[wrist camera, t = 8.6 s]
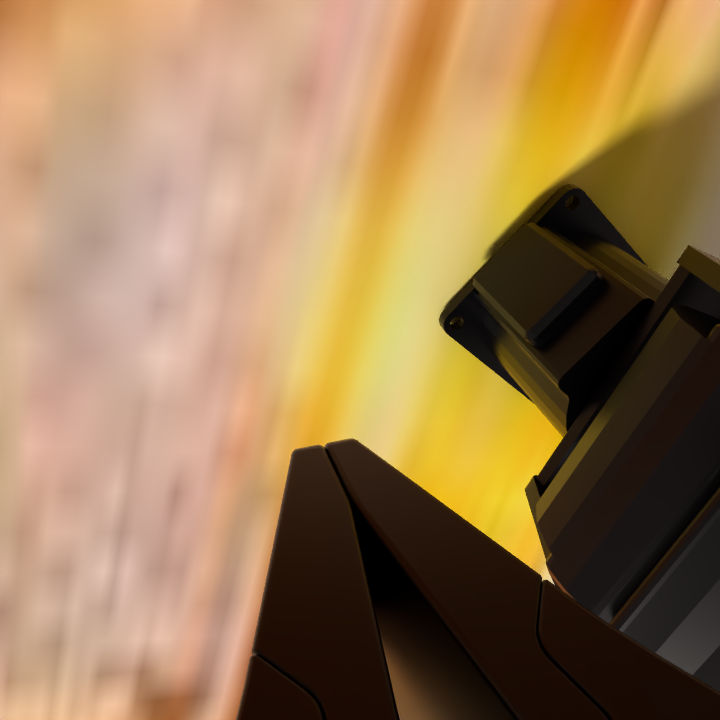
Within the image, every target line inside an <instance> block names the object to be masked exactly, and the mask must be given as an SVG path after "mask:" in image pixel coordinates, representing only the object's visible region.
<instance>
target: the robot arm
mask: <svg viewBox="0 0 720 720" xmlns="http://www.w3.org/2000/svg"><path fill="white" fill-rule="evenodd" d="M571 196H573V201H572V202H571V204H569V205H568V206H566V201H567V200H568V198H569V197H571ZM677 263H678V264H680V265H679V267H678V268H677V270H676V271H675V273H674V274H673V276H672V277H671V279H670V280H667V279H666V278H664V277H663V276H661V275H660V274H658V273H657V272H655V271H654V270H652V269H651V268H649V267H648V266H647V265H646V264H645V263H644V262H643V260H642V259H641V258H640V257H639V256H638V254H637V253H636V252H635V251H634V250H633V249H632V247H631V246H630V245H629V244H628V243H627V242H626V240H625V239H624V238H623V237H622V236H621V234H620V233H619V232H618V231H617V230H616V229H615V227H614V226H613V225H612V224H611V223H610V222H609V220H608V219H607V218H606V217H605V216H604V214H603V213H602V212H601V211H600V210H599V209H598V207H597V206H596V205H595V204H594V203H593V202H592V200H591V199H590V198H589V197H588V196H587V194H586V193H585V192H584V191H583V190H581V189H580V188H578V187H576V186H575V185H570V184H568V185H565V186H563V187H561V188H560V189H559V190H558V191H557V192H556V193H555V194H554V195H553V196H552V197H551V198H550V199H549V200H548V201H547V202H546V203H545V204H544V205H543V206H542V208H541V209H540V210H539V211H538V212H537V213H536V214H535V215H534V216H533V217H532V218H531V219H530V220H529V221H528V222H527V223H526V224H524V225H523V226H522V227H521V228H520V229H519V230H518V231H517V232H516V233H515V234H514V235H513V236H512V237H511V239H510V240H509V241H508V242H507V243H506V244H505V245H504V246H503V247H502V248H501V249H500V250H499V251H498V252H497V253H496V254H495V255H494V256H493V257H492V259H491V260H490V261H489V262H488V263H487V264H486V265H485V266H484V267H483V268H482V269H481V270H480V271H479V272H478V273H477V274H476V275H475V277H474V279H473V280H472V281H471V282H470V283H469V284H468V285H467V286H466V287H465V288H464V289H463V291H462V292H461V293H460V294H459V295H458V296H457V297H456V298H455V299H454V300H453V301H452V302H451V303H450V304H449V305H448V306H447V307H446V308H445V309H444V310H443V312H442V313H441V315H440V318H439V323H440V325H441V327H442V328H443V329H444V331H445V332H446V333H447V334H448V335H449V336H450V337H452V338H453V339H454V340H455V341H457V342H458V343H459V344H460V345H462V346H463V347H464V348H465V349H467V350H468V351H469V352H470V353H472V354H473V355H474V356H475V357H477V358H478V359H479V360H480V361H482V362H483V363H484V364H485V365H487V366H488V367H489V368H490V369H492V370H493V371H494V372H495V373H497V374H498V375H499V376H500V377H502V378H503V379H504V380H505V381H507V382H508V383H509V384H510V385H512V386H513V387H514V388H515V389H517V390H518V391H519V392H520V393H522V394H523V395H524V396H525V397H527V398H528V399H529V400H530V401H532V402H533V403H534V404H535V405H536V406H537V407H538V408H539V409H540V411H541V412H542V413H543V414H544V415H545V417H546V418H547V419H548V420H549V421H550V422H551V424H552V425H553V426H554V427H555V428H556V429H557V431H558V432H559V433H560V434H561V435H562V436H563V439H562V441H561V442H560V444H559V445H558V446H557V448H556V449H555V451H554V452H553V454H552V455H551V457H550V458H549V460H548V461H547V463H546V464H545V466H544V467H543V469H542V470H541V472H540V473H539V475H534V476H533V478H532V479H531V481H530V482H529V484H528V485H527V487H526V488H525V492H526V496H527V499H528V502H529V505H530V509H531V512H532V515H533V518H534V522H535V525H536V528H537V532H538V535H539V538H540V541H541V545H542V548H543V551H544V554H545V558H546V565H547V568H548V571H549V574H550V575H551V577H552V580H553V582H554V584H555V585H554V584H552V583H551V582H550V581H548V580H543V581H542V577H541V575H540V574H538V573H537V572H536V571H534V570H533V569H531V568H530V567H529V566H527V565H526V564H525V563H523V562H522V561H521V560H519V559H518V558H516V557H515V556H514V555H512V554H511V553H510V552H508V551H507V550H506V549H504V548H503V547H502V546H500V545H499V544H497V543H496V542H495V541H493V540H492V539H491V538H489V537H488V536H487V535H485V534H484V533H482V532H481V531H480V530H478V529H477V528H476V527H474V526H473V525H472V524H470V523H469V522H468V521H466V520H465V519H463V518H462V517H461V516H459V515H458V514H457V513H455V512H454V511H453V510H451V509H450V508H448V507H447V506H446V505H444V504H443V503H442V502H440V501H439V500H438V499H436V498H435V497H434V496H432V495H431V494H429V493H428V492H427V491H425V490H424V489H423V488H421V487H420V486H419V485H417V484H416V483H414V482H413V481H412V480H410V479H409V478H408V477H406V476H405V475H404V474H402V473H401V472H400V471H398V470H397V469H395V468H394V467H393V466H391V465H390V464H389V463H387V462H386V461H385V460H383V459H382V458H380V457H379V456H378V455H376V454H375V453H374V452H372V451H371V450H370V449H368V448H367V447H366V446H364V445H363V444H361V443H360V442H359V441H357V440H355V439H345V440H340V441H335V442H330V443H327V444H326V445H325V447H323V446H321V445H315V446H309V447H304V448H299V449H295V450H294V451H293V453H292V455H291V460H290V465H289V470H288V475H287V480H286V485H285V490H284V494H283V499H282V504H281V509H280V514H279V519H278V524H277V529H276V534H275V539H274V544H273V549H272V554H271V559H270V563H269V568H268V573H267V578H266V583H265V588H264V593H263V598H262V603H261V608H260V613H259V618H258V623H257V628H256V632H255V637H254V642H253V647H252V656H251V657H250V660H249V665H248V670H247V675H246V679H245V684H244V689H243V693H242V697H241V701H240V705H239V709H238V714H237V718H236V720H400V719H399V716H400V718H401V720H720V259H718V258H715V257H713V256H711V255H709V254H707V253H705V252H703V251H701V250H698V249H696V248H694V247H692V246H690V245H688V247H687V248H686V250H685V251H684V253H683V254H682V255H681V257H680V258H679V260H678V261H677ZM455 317H459V319H458V321H457V322H456V323H454V324H450V322H451V320H452V319H453V318H455ZM398 713H399V714H398Z"/></svg>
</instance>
